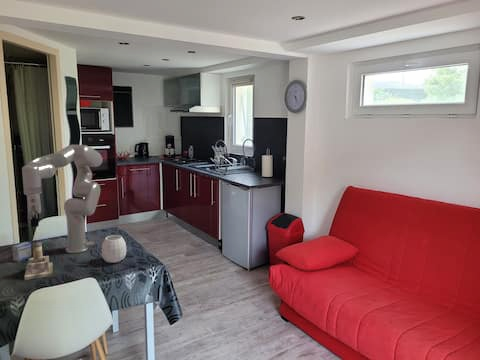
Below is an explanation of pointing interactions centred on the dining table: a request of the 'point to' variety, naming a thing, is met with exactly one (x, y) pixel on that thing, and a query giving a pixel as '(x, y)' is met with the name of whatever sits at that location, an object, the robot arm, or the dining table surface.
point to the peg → (37, 252)
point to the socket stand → (38, 268)
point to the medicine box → (21, 251)
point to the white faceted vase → (113, 249)
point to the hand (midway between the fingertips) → (35, 223)
